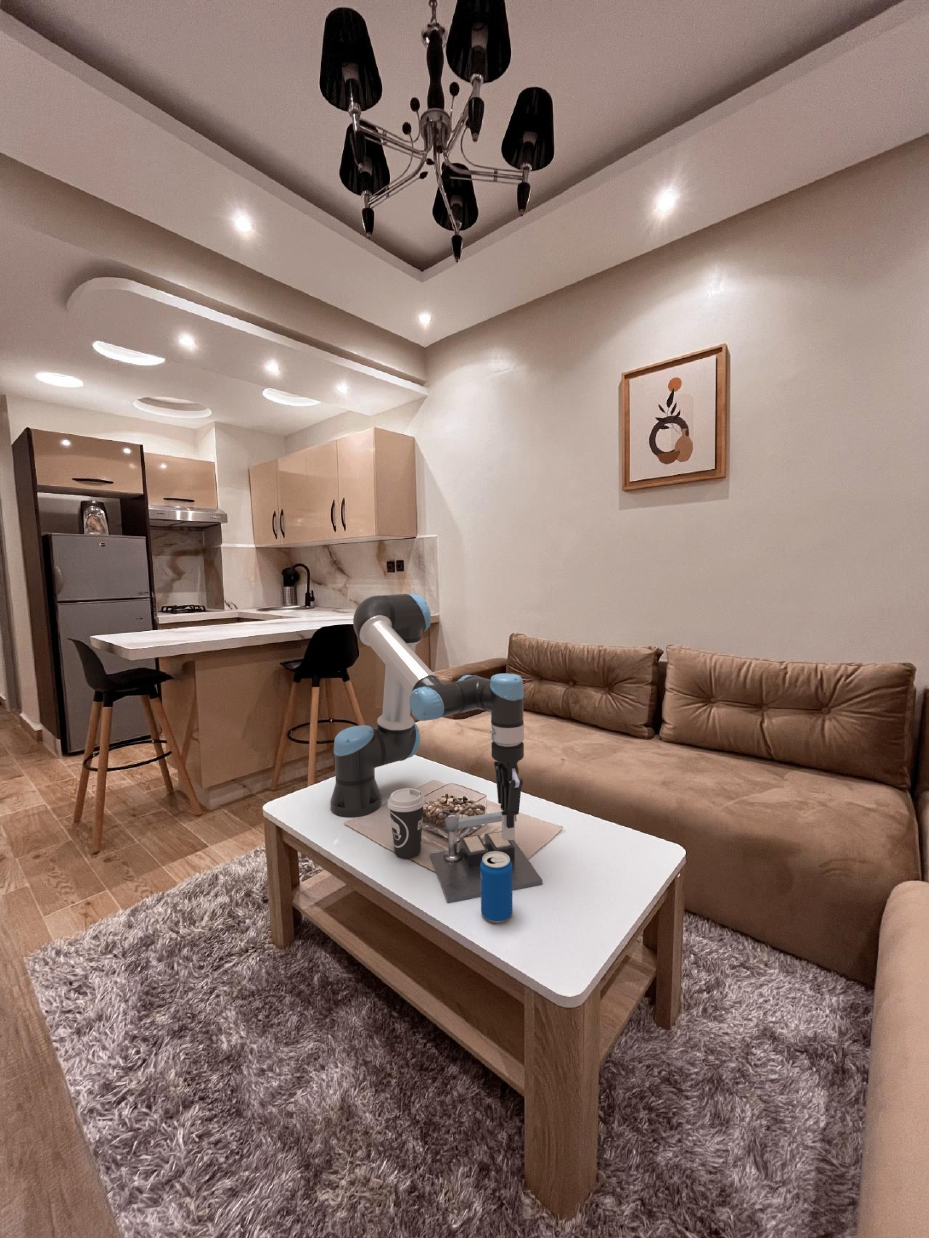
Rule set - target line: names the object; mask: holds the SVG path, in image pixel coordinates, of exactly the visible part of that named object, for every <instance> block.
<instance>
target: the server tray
mask: <svg viewBox="0 0 929 1238" xmlns="http://www.w3.org/2000/svg"><path fill="white" fill-rule="evenodd" d="M447 835H448V837H447V838H448V839H447V840H448V843H447V844H448V850H442V851H436V852H430V854H429V855H430V859H431V863H432V865H433V869H434V870H435V873H436V875H437V879H438V881H439V883H440V884H439V885H440V887H441V889H442V893H443V895H444V898H445V900H446V904H449V903H455V902H460V901H461V902H462V901H464V900H465V901H466V900H470V899H475V898H481V877H480V864H481V861H482V858H483V856H484V855H485V854H486V853H489V852H493V851H499V852H503V853H505V854H507V855H508V856H509V858H510V861H511V863H512V891H516V890H521V889H525V888H531V887H536V886H542V885H543V879H542V877H541V876H540V874H539V873H538V872H537V870H536V869H535V868H534V867H535V866H533V865H532V863H531V862H530V861H529V858H527V856H526V855H525V853H524V852H523V851H522V849H521V848H520V846H519V844H518V843H517V842H516V840H515V839H511V840H505V841H504V840H503V838H502V830H501V831H495V832H490V833H484V841H483V839H482V838H481V836H480V835H479V834H477V835H470V836H466V837H459V848H458V843H457V839H458V838H457V836H458V835H457V830H454V831H450V830H447Z"/></svg>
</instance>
